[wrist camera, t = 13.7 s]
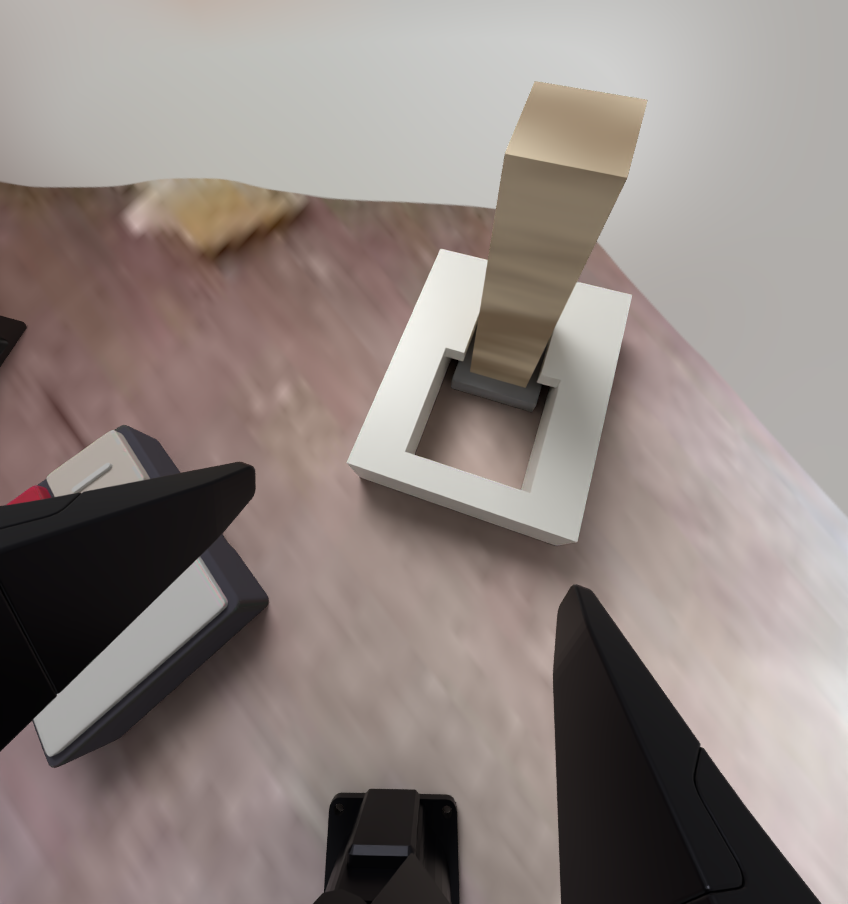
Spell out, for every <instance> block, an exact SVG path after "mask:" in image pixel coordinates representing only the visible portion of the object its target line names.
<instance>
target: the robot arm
mask: <svg viewBox="0 0 848 904" xmlns="http://www.w3.org/2000/svg"><path fill="white" fill-rule="evenodd" d="M255 489H256V486H255V469H254V467H253V466H251V465H249V464H246V463H243V462H235V463H230V464H225V465H220V466H214V467H209V468H204V469H199V470H193V471H188V472H183V473H178V474H173V475H167V476H162V477H157V478H152V479H147V480H141V481H136V482H131V483H126V484H120V485H115V486H110V487H105V488H100V489H94V490H89V491H84V492H82V493H80V492H78V493H73V494H68V495H63V496H58V497H52V498H46V499H41V500H35V501H30V502H24V503H17V504H11V505H4V506H0V751H1V750H2V749H3V748H4V747H5V746H6V745H8V744H9V743H10V742H11V741H12V740H13V739H14V738H15V737H16V736H17V735H18V734H19V733H20V732H21V731H22V730H23V729H24V728H25V727H26V726H27V725H28V724H29V723H30V722H31V721H32V720H33V719H34V718H35V717H36V716H37V715H38V714H39V713H40V712H41V711H42V710H43V709H44V708H45V707H46V706H48V705H49V704H50V703H51V702H52V701H53V700H54V699H55V698H56V697H57V694H59V693H61V692H62V691H63V690H64V689H65V688H66V687H67V686H68V685H69V684H70V683H71V682H72V681H73V680H74V679H75V678H76V677H77V676H78V675H79V674H80V673H81V672H82V671H83V670H84V669H85V668H86V667H87V666H88V665H89V664H90V663H91V662H92V661H93V660H94V659H95V658H96V657H97V656H98V655H99V654H100V653H101V652H103V651H104V650H105V649H106V648H107V647H108V646H109V645H110V644H111V643H112V642H113V641H114V640H115V639H116V638H117V637H118V636H119V635H120V634H121V633H122V632H123V631H124V630H125V629H126V628H127V627H128V626H129V625H130V624H131V623H132V622H133V621H134V620H135V619H136V618H137V617H138V616H139V615H140V614H141V613H142V612H144V611H145V610H146V609H147V608H148V607H149V606H150V605H151V604H152V603H153V602H154V601H155V600H156V599H157V598H158V597H159V596H160V595H161V594H162V593H163V592H164V591H165V590H166V589H167V588H168V587H169V586H170V585H171V584H172V583H173V582H174V581H175V580H176V579H177V578H178V577H179V576H180V575H181V574H182V573H183V572H185V571H186V570H187V569H188V568H189V567H190V566H191V565H192V564H193V563H194V562H195V561H196V560H197V559H198V558H199V557H200V556H201V555H202V554H203V553H204V552H205V551H206V550H207V549H208V548H209V547H210V546H211V545H212V544H213V543H214V542H215V541H216V540H217V539H218V538H219V537H220V536H221V535H222V533H223V532H224V531H225V530H226V529H227V528H228V526H229V525H230V524H231V523H232V522H233V520H234V519H235V518H236V517H237V516H238V514H239V513H240V512H241V511H242V510H243V508H244V507H245V506H246V505H247V504H248V503H249V501H250V500H251V499H252V498H253V496H254V494H255ZM553 696H554V723H555V750H556V777H557V805H558V832H559V859H560V886H561V904H821V902H820V901H819V900H818V899H817V897H816V896H815V895H814V894H813V892H812V891H811V890H810V888H809V887H808V886H807V885H806V883H805V882H804V881H803V880H802V878H801V877H800V876H799V874H798V873H797V872H796V871H795V869H794V868H793V867H792V866H791V864H790V863H789V862H788V861H787V859H786V858H785V857H784V855H783V854H782V853H781V852H780V850H779V849H778V848H777V846H776V845H775V844H774V843H773V841H772V840H771V839H770V837H769V836H768V835H767V833H766V832H765V831H764V830H763V828H762V827H761V826H760V824H759V823H758V822H757V820H756V819H755V818H754V817H753V815H752V814H751V813H750V811H749V810H748V809H747V807H746V806H745V805H744V803H743V802H742V801H741V799H740V798H739V796H738V795H737V794H736V792H735V791H734V790H733V788H732V787H731V785H730V784H729V783H728V781H727V780H726V779H725V777H724V776H723V775H722V773H721V772H720V770H719V769H718V768H717V766H716V765H715V763H714V762H713V761H712V759H711V758H710V756H709V755H708V753H707V752H706V751H705V749H704V748H702V747H700V742H699V741H698V740H697V738H696V737H695V735H694V734H693V733H692V731H691V730H690V728H689V727H688V725H687V724H686V723H685V721H684V720H683V718H682V717H681V716H680V714H679V713H678V711H677V710H676V709H675V707H674V706H673V704H672V703H671V701H670V700H669V699H668V697H667V696H666V694H665V693H664V692H663V690H662V689H661V687H660V686H659V685H658V683H657V682H656V680H655V679H654V677H653V676H652V675H651V673H650V672H649V670H648V669H647V668H646V666H645V665H644V663H643V662H642V661H641V659H640V658H639V656H638V655H637V653H636V652H635V651H634V649H633V648H632V646H631V645H630V644H629V642H628V641H627V639H626V638H625V637H624V635H623V634H622V632H621V631H620V629H619V628H618V627H617V625H616V624H615V622H614V621H613V620H612V618H611V617H610V615H609V614H608V613H607V611H606V610H605V608H604V607H603V606H602V604H601V603H600V601H599V600H598V598H597V597H596V596H595V594H594V593H593V592H592V591H591V590H590V589H588V588H585V587H583V586H580V585H577V584H575V585H573V586H571V588H570V589H569V591H568V593H567V594H566V596H565V597H564V599H563V601H562V602H561V604H560V606H559V609H558V613H557V626H556V639H555V652H554V665H553ZM339 803H340V804H342V805H343V807H344V810H342V811H339V810H338V809H337V808H336V804H339ZM444 806H450V808H451V811H450V812H449V813H445V812H444V811H443V810H442V809H443V807H444ZM313 904H459V869H458V832H457V807H456V802H455V800H454V798H453V797H451V796H450V795H441V794H419V793H418V792H417V791H416V790H407V789H369V790H368V792H367V793H338V794H337V795H335V796H334V798H333V800H332V802H331V804H330V808H329V820H328V836H327V852H326V869H325V885H324V893H323V894H322V895H321V896H320V897H319V898H318V899H317V900H316V901H315V902H314V903H313Z"/></svg>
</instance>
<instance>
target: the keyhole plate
mask: <svg viewBox="0 0 848 904" xmlns="http://www.w3.org/2000/svg"><path fill="white" fill-rule="evenodd" d="M487 262H488V260H485V259H481V258H477V257H473V256H468V255H464V254H460V253H456V252H452V251H448V250H444V249H440V251H439V254H438V256H437V258H436V260H435V263H434V265H433V267H432V270H431V272H430V274H429V276H428V279H427V281H426V283H425V285H424V288H423V290H422V292H421V295H420V297H419V299H418V301H417V304H416V306H415V308H414V311H413V313H412V315H411V317H410V320H409V322H408V324H407V326H406V329H405V331H404V333H403V336H402V338H401V340H400V342H399V345H398V347H397V349H396V351H395V354H394V356H393V358H392V361H391V363H390V365H389V367H388V370H387V372H386V374H385V377H384V379H383V381H382V383H381V386H380V388H379V390H378V392H377V395H376V397H375V399H374V402H373V404H372V406H371V408H370V411H369V413H368V415H367V417H366V420H365V422H364V424H363V427H362V429H361V431H360V433H359V436H358V438H357V440H356V443H355V445H354V447H353V449H352V452H351V454H350V456H349V458H348V461H347V464H348V465H349V466H350V467H351V468H352V469H353V470H354V472H355V473H356V474H357V475H358V476H359V477H360V478H363V479H366V480H369V481H372V482H375V483H378V484H380V485H383V486H386V487H389V488H392V489H395V490H398V491H401V492H403V493H406V494H409V495H412V496H415V497H418V498H421V499H423V500H426V501H429V502H432V503H435V504H438V505H441V506H444V507H446V508H449V509H452V510H455V511H458V512H461V513H464V514H466V515H469V516H472V517H475V518H478V519H481V520H484V521H486V522H489V523H492V524H495V525H498V526H501V527H504V528H507V529H509V530H512V531H515V532H518V533H521V534H524V535H527V536H529V537H532V538H535V539H538V540H541V541H544V542H547V543H550V544H552V545H555V546H559V545H564V544H570V543H575V542H577V541H578V537H579V532H580V528H581V523H582V519H583V514H584V510H585V505H586V501H587V496H588V492H589V487H590V483H591V478H592V474H593V469H594V465H595V460H596V456H597V451H598V447H599V442H600V438H601V433H602V429H603V424H604V420H605V415H606V411H607V406H608V401H609V397H610V392H611V388H612V383H613V379H614V374H615V370H616V365H617V361H618V356H619V352H620V347H621V343H622V338H623V334H624V329H625V325H626V320H627V316H628V311H629V307H630V302H631V298H632V295H630V294H626V293H622V292H617V291H613V290H609V289H605V288H601V287H597V286H593V285H589V284H584V283H580V282H577V283H576V285H575V287H574V289H573V291H572V293H571V295H570V297H569V299H568V301H567V303H566V305H565V308H564V310H563V312H562V314H561V316H560V318H559V320H558V322H557V324H556V326H555V328H554V330H553V332H552V334H551V336H550V339H549V342H548V346H547V349H546V353H545V356H544V359H543V363H542V366H541V370H540V373H539V376H538V380H537V383H540V384H544V385H547V386H550V388H549V391H548V395H547V399H546V402H545V406H544V409H543V413H542V416H541V420H540V423H539V427H538V431H537V434H536V438H535V441H534V445H533V448H532V452H531V456H530V459H529V463H528V466H527V470H526V473H525V477H524V481H523V484H522V488H521V490H519V489H516V488H513V487H510V486H507V485H504V484H501V483H498V482H495V481H492V480H489V479H486V478H483V477H480V476H477V475H474V474H471V473H468V472H465V471H462V470H459V469H456V468H453V467H450V466H447V465H444V464H441V463H438V462H435V461H432V460H429V459H426V458H423V457H420V456H417V455H415V452H416V449H417V447H418V444H419V442H420V439H421V436H422V434H423V431H424V429H425V426H426V423H427V421H428V418H429V416H430V413H431V410H432V408H433V405H434V402H435V400H436V397H437V395H438V392H439V389H440V387H441V384H442V382H443V379H444V376H445V374H446V371H447V368H448V366H449V363H450V361H451V358H453V359H456V360H460V361H463V360H464V358H465V355H466V352H467V350H468V347H469V344H470V342H471V339H472V336H473V333H474V331H475V328H476V325H477V323H478V318H479V312H480V306H481V299H482V293H483V287H484V281H485V274H486V268H487Z"/></svg>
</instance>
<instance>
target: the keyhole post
mask: <svg viewBox="0 0 848 904" xmlns="http://www.w3.org/2000/svg"><path fill="white" fill-rule="evenodd" d="M646 104H647V100H645V99H639V98H633V97H627V96H621V95H615V94H609V93H603V92H597V91H591V90H585V89H578V88H573V87H567V86H561V85H555V84H549V83H543V82H536V81H535V82H534V85H533V87H532V89H531V92H530V94H529V97H528V99H527V101H526V104H525V107H524V109H523V111H522V114H521V116H520V119H519V121H518V123H517V126H516V128H515V130H514V133H513V135H512V138H511V140H510V142H509V145H508V147H507V150H506V152H505V156H504V163H503V169H502V175H501V181H500V187H499V193H498V200H497V206H496V212H495V218H494V225H493V231H492V237H491V243H490V249H489V256H488V262H487V268H486V274H485V281H484V287H483V293H482V299H481V306H480V312H479V318H478V323H477V325H476V328H475V331H474V333H473V336H472V339H471V342H470V344H469V347H468V350H467V352H466V355H465V358H464V360H463V361H460V360H459V362H458V365H457V368H456V370H455V373H454V375H453V378H452V385H451V388H453V389H456V390H460V391H463V392H466V393H470V394H473V395H476V396H480V397H483V398H486V399H490V400H493V401H496V402H500V403H503V404H506V405H510V406H513V407H516V408H520V409H523V410H526V411H530V412H532V411H533V409H534V408H535V406H536V404H537V400H538V397H539V393H540V390H541V386H542V384H540V383H537V380H538V376H539V373H540V370H541V366H542V363H543V359H544V356H545V353H546V349H547V346H548V342H549V339H550V336H551V334H552V332H553V330H554V328H555V326H556V324H557V322H558V320H559V318H560V316H561V314H562V312H563V310H564V308H565V305H566V303H567V301H568V299H569V297H570V295H571V293H572V291H573V289H574V287H575V285H576V283H577V281H578V279H579V277H580V275H581V272H582V270H583V268H584V266H585V264H586V262H587V260H588V258H589V256H590V254H591V252H592V250H593V248H594V246H595V244H596V242H597V239H598V237H599V235H600V233H601V231H602V229H603V227H604V225H605V223H606V221H607V219H608V217H609V215H610V213H611V211H612V208H613V207H614V204H615V202H616V200H617V198H618V196H619V194H620V192H621V190H622V188H623V186H624V184H625V182H626V180H627V177H628V174H629V170H630V166H631V162H632V158H633V154H634V150H635V147H636V143H637V139H638V135H639V131H640V127H641V124H642V120H643V116H644V112H645V108H646Z"/></svg>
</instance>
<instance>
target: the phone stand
mask: <svg viewBox="0 0 848 904" xmlns="http://www.w3.org/2000/svg"><path fill="white" fill-rule="evenodd" d="M25 329H26V324H25V323H24V322H22V321H18V320H14V319H11V318H7V317H4V316H0V367H1V365H2V364H3V362H4V361H5V359H6V358H7V356H8V355H9V353H10V352H11V350H12V349H13V347H14V346H15V344H16V343H17V341H18V340H19V338H20V337H21V335H22V334H23V332H24V331H25Z"/></svg>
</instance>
